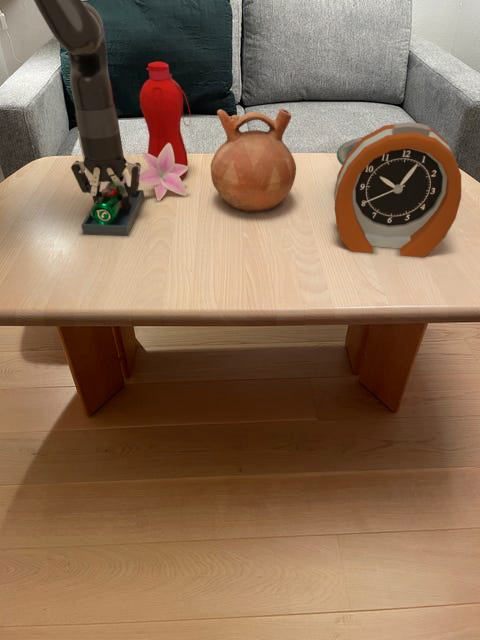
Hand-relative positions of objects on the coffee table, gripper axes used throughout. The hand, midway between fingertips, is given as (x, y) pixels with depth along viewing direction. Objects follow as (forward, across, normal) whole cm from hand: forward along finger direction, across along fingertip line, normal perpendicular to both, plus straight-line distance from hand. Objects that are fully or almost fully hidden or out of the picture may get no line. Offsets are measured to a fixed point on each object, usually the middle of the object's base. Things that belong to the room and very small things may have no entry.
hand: (114, 210), depth 100 cm
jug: (+1, -29, -9) cm, 31 cm away
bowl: (+1, -60, -13) cm, 62 cm away
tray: (+1, 0, 0) cm, 1 cm away
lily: (+1, -9, -12) cm, 15 cm away
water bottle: (+1, -9, -22) cm, 23 cm away
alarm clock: (+1, -57, +6) cm, 57 cm away
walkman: (+1, +7, -18) cm, 19 cm away
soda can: (-2, 0, +7) cm, 8 cm away
